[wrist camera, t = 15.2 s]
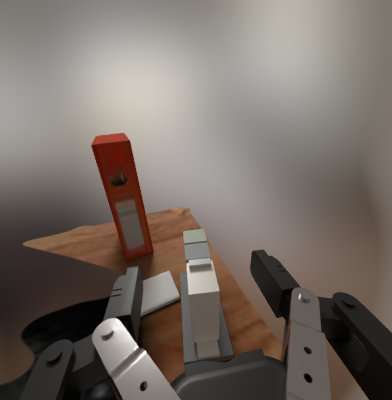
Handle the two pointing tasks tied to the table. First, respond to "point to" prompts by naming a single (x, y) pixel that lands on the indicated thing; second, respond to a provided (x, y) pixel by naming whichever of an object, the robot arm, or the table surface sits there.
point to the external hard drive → (158, 292)
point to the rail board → (192, 350)
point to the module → (203, 299)
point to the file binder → (123, 192)
